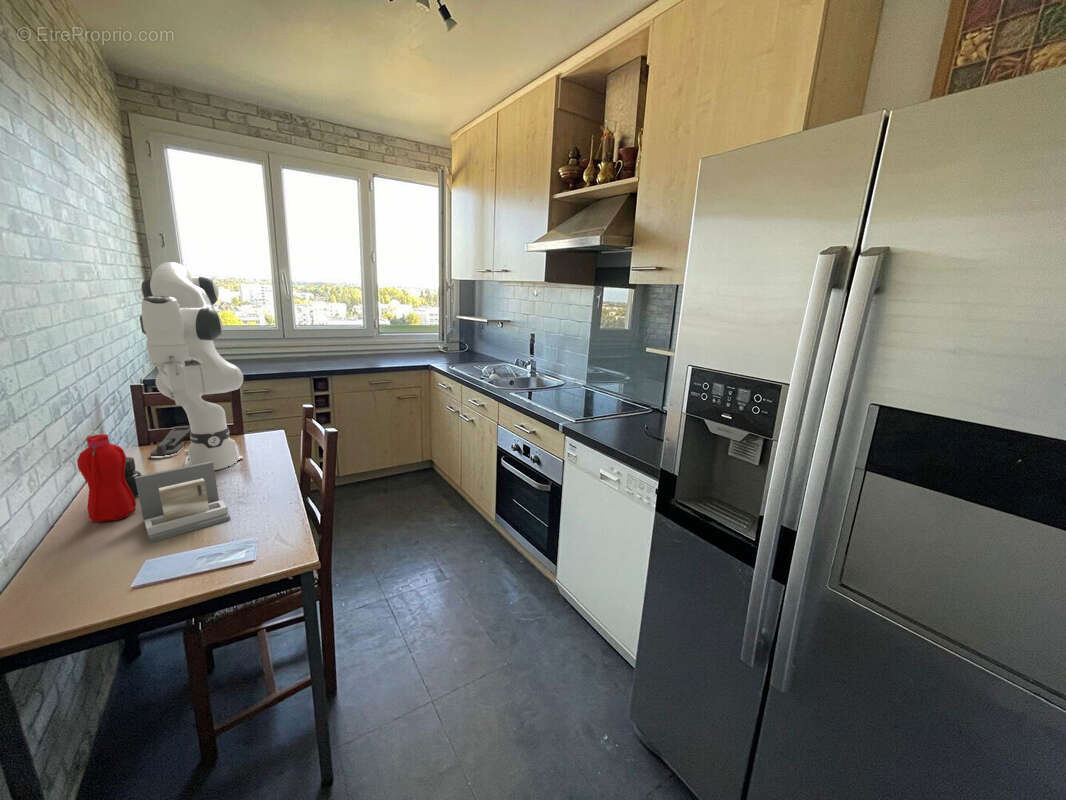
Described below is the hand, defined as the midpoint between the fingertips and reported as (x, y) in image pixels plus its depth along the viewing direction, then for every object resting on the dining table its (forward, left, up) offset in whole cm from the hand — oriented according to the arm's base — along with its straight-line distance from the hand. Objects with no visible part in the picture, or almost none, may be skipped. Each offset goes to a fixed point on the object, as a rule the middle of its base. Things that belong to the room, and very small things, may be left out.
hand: (177, 402), depth 126 cm
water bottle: (-10, -18, -34) cm, 40 cm away
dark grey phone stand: (-71, +4, -34) cm, 79 cm away
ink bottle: (-26, -14, -34) cm, 45 cm away
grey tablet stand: (+7, -3, -34) cm, 35 cm away
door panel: (+9, -3, -33) cm, 34 cm away
